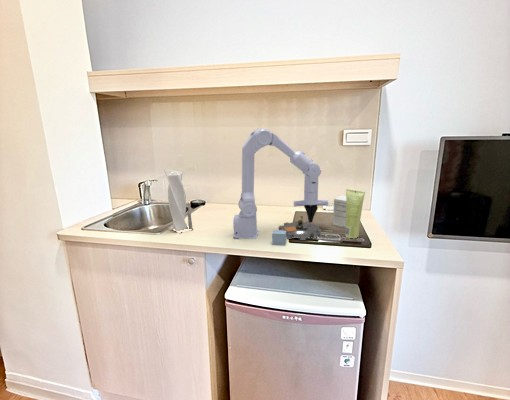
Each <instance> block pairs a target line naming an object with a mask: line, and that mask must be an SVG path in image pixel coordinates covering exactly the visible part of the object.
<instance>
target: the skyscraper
mask: <svg viewBox="0 0 510 400" xmlns="http://www.w3.org/2000/svg"><path fill="white" fill-rule="evenodd" d="M168 171H169V172H170V173H169V174H168V173H167V172H168ZM164 174H165V176H166V179H167V182H168V188H167V200H168V205H169V207H168V208H169V212H170V215H171V218H172V221H173V222H172V223H173V224H172V228H173V229H175V230H176V231H180V230H184V229H188V227H187V226H189V229H194V228H193V221H192V213H191V210H190V203H189V202H187V198H186V191H185V188H184V185H183V182H182V178H183V172H182V171H178V170H177V171H176V170H174V169H165V170H164ZM186 213H187V223H186V221H185V220H186ZM187 224H188V225H187Z"/></svg>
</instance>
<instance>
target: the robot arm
mask: <svg viewBox="0 0 510 400" xmlns="http://www.w3.org/2000/svg"><path fill="white" fill-rule="evenodd" d="M267 146H271V147H275V148H276V149H278V150H279V151H280V152H282V153H283V154H284V155H286V156H287V157H288V158H289V160H290V161H289V162H290V163H291V164H292V165H294V166H295V167H296V168H297V169H298V170H299V171H301V172H302V174H303V175H304V182H303V183H304V185H303V186H304V187H303V188H304V189H303V191H304V193H303V200H294V201H293V207H304V209H305V212H306V214H307V218H308V221H307V222H311V223H313V220H314V217H315V214H316V213H317V211H318V209H319V207H320V206H321V207H323V206H324V207H328V206H329V200H321V199H319V178H320V177H319V176H320V175H321V173H322V170H321V168H320V166H319V165H318V164H317V163H314V160H313V159H311V158H308V157H307V156H306V155H305V154H306V153H305V152H304V151H300V150H298V151H297V150H296V151H295V150H294V149H293V148H292V147H291V146H290V145H288V144H287V143H286V141H283V139H282V138H280V137H279V136H278V135H277V134H276V133H274V132H271V131H270V130H269V129H267V128H257V129H255V130H254V131H252V132H251V133H249V136H248V138H247V139H246V141H245V142H244V144H243V146H242V148H241V193H240V199H239V201H238V208H239V209H240V212H239V213H238V214H235V215H234V216H233V219H232V220H233V221H232V222H233V223H232V225H233V227H232V228H233V238H234V239H257V237H258V235H259V234H260V230H258V226H257V225H258V224H257V220H258V219H257V212H258V207H257V205H256V201H255V200H256V198H255V191H254V189H255V188H254V187H255V154H256V153H257V152H258V151H259V150H261V149H263V148H265V147H267ZM318 206H319V207H318Z"/></svg>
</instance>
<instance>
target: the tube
mask: <svg viewBox="0 0 510 400" xmlns="http://www.w3.org/2000/svg"><path fill="white" fill-rule="evenodd" d="M345 193H346V194H345V196H346V227H345V235H344V236H346V237H349V238H357V237H358V238H359V236H360V234H359V233H360V227H361V219H362V218H361V217H362V211H363V204H364V201H365V195H366V191H362V190H354V189H349V188H348V189H347V188H346V189H345ZM346 237H345V238H346Z"/></svg>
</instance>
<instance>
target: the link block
mask: <svg viewBox="0 0 510 400" xmlns="http://www.w3.org/2000/svg"><path fill="white" fill-rule="evenodd" d="M271 234H272V235H271V238H272V239H271V242H272V243H271V244H272V245H274V246H286V244H287V237H286V231H282V230H279V229H277V230H275V229H273V230H272V232H271Z"/></svg>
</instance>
